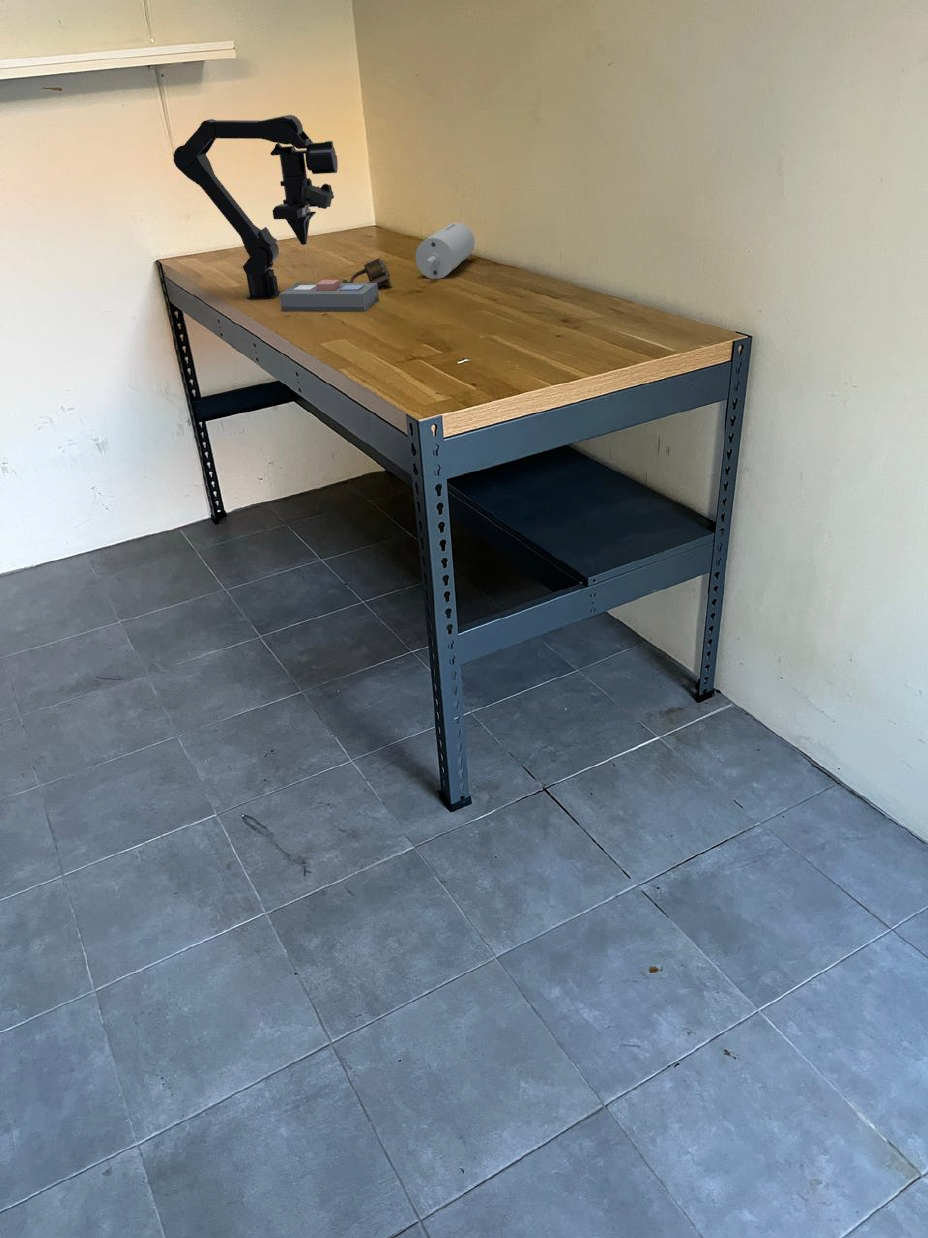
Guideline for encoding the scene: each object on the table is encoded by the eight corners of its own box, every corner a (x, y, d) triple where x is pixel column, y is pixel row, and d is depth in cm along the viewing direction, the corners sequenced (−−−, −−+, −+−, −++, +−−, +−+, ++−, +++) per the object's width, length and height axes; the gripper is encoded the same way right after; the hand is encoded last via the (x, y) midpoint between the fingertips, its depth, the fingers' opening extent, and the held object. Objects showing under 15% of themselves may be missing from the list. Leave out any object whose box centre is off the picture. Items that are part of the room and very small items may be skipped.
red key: (317, 296, 224) (315, 283, 222) (324, 292, 227) (322, 279, 226) (334, 296, 223) (333, 283, 221) (341, 292, 226) (339, 279, 225)
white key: (295, 302, 226) (293, 289, 224) (301, 297, 229) (300, 284, 228) (312, 302, 225) (310, 289, 223) (318, 297, 228) (316, 284, 227)
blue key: (341, 302, 223) (340, 289, 221) (348, 297, 227) (346, 284, 225) (359, 302, 222) (357, 289, 220) (365, 297, 226) (363, 284, 224)
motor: (448, 284, 240) (445, 241, 234) (410, 284, 242) (407, 242, 237) (477, 259, 264) (475, 220, 259) (442, 259, 267) (440, 221, 262)
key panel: (281, 310, 224) (279, 293, 222) (298, 299, 233) (296, 283, 231) (364, 311, 219) (362, 293, 217) (378, 299, 228) (377, 282, 226)
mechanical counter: (389, 270, 232) (393, 252, 239) (338, 267, 232) (343, 250, 239) (390, 297, 237) (394, 280, 245) (340, 295, 237) (345, 277, 245)
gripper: (312, 179, 213) (321, 251, 222) (339, 168, 229) (347, 236, 237) (266, 180, 216) (277, 252, 224) (297, 170, 231) (306, 237, 239)
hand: (304, 244), depth 231 cm, fingers closed
